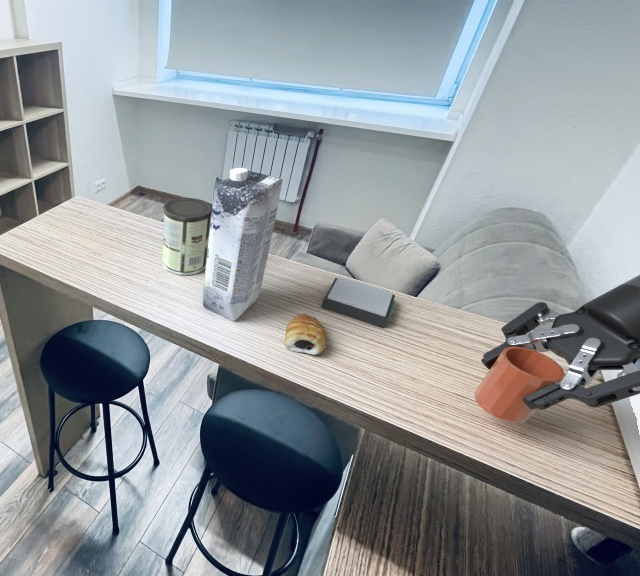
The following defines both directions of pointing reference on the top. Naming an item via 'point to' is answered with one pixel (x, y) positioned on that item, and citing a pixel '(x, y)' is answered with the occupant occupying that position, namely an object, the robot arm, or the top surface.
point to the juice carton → (239, 240)
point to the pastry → (305, 335)
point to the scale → (359, 301)
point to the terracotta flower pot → (516, 383)
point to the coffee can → (186, 235)
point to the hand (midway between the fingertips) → (505, 383)
